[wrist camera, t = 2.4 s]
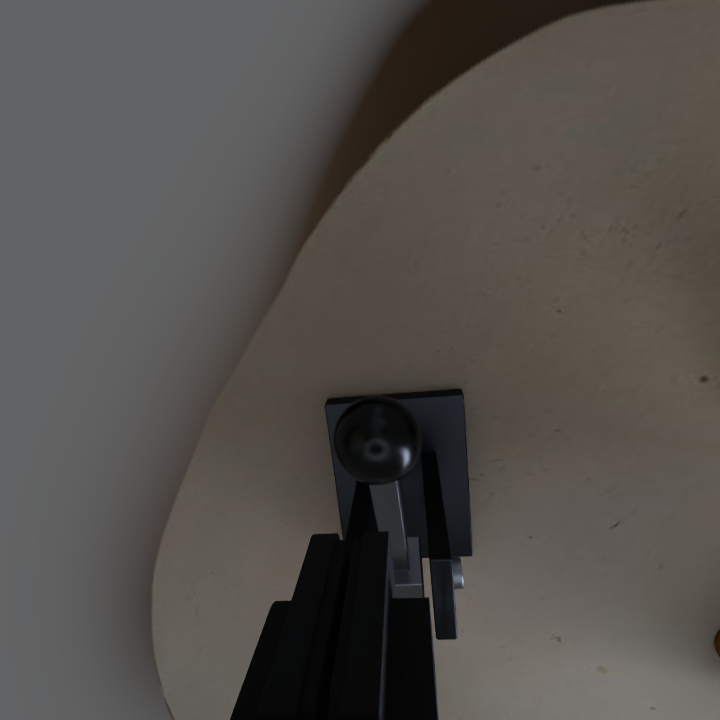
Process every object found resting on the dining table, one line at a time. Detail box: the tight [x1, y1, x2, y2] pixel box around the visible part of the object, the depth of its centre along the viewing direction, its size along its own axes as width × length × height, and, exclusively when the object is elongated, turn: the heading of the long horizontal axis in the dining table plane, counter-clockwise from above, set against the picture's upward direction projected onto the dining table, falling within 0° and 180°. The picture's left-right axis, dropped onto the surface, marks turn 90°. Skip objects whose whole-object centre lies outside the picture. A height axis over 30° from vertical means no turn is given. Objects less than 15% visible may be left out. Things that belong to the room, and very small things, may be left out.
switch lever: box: [333, 395, 425, 598], centre depth 20 cm, size 13×3×3 cm, turn 7°
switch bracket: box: [325, 389, 473, 640], centre depth 27 cm, size 12×9×12 cm
